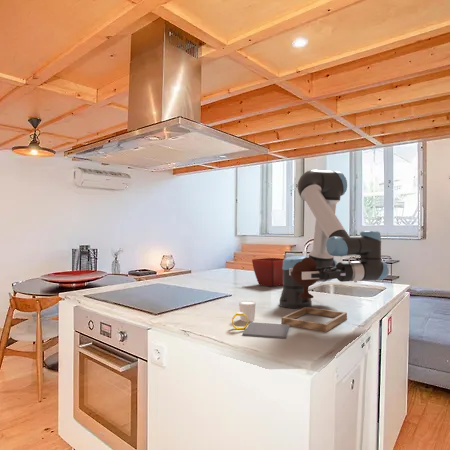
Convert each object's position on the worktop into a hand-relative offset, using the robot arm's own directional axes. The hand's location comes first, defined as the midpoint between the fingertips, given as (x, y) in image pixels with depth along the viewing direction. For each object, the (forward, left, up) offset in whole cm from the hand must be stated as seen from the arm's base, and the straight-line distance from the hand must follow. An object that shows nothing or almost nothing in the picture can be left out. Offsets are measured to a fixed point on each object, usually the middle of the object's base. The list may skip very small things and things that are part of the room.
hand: (295, 273), depth 129 cm
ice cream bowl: (+4, +2, -9) cm, 10 cm away
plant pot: (-22, +94, -20) cm, 99 cm away
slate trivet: (-10, -7, -20) cm, 23 cm away
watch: (-20, -7, -20) cm, 29 cm away
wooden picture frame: (+7, +10, -20) cm, 23 cm away
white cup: (-20, +6, -20) cm, 29 cm away
